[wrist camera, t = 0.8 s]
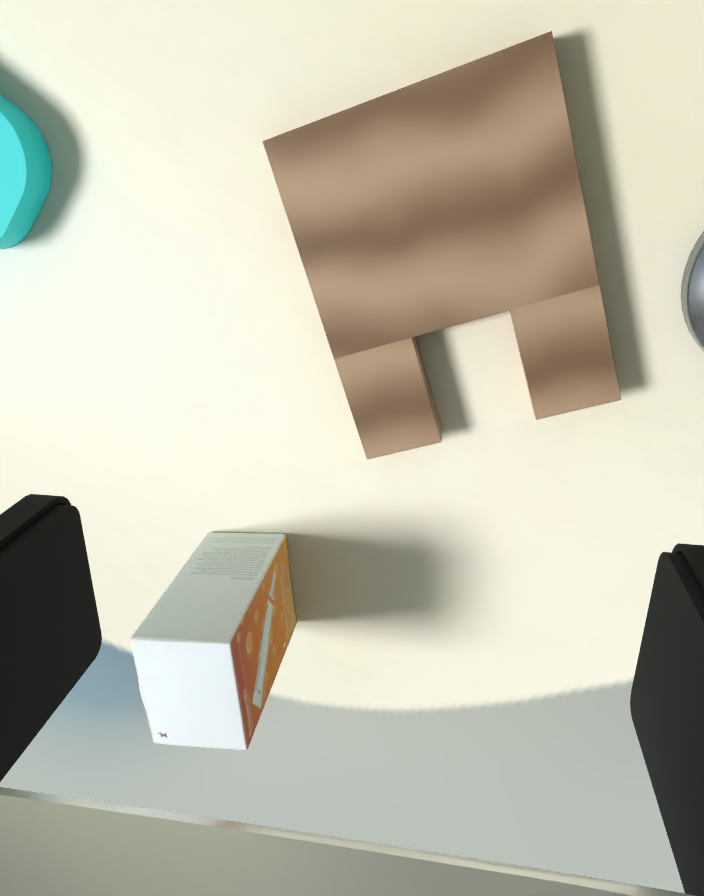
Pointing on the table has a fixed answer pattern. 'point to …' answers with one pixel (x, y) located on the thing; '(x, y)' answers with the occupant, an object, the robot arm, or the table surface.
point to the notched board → (449, 237)
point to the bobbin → (694, 292)
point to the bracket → (20, 173)
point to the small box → (216, 641)
